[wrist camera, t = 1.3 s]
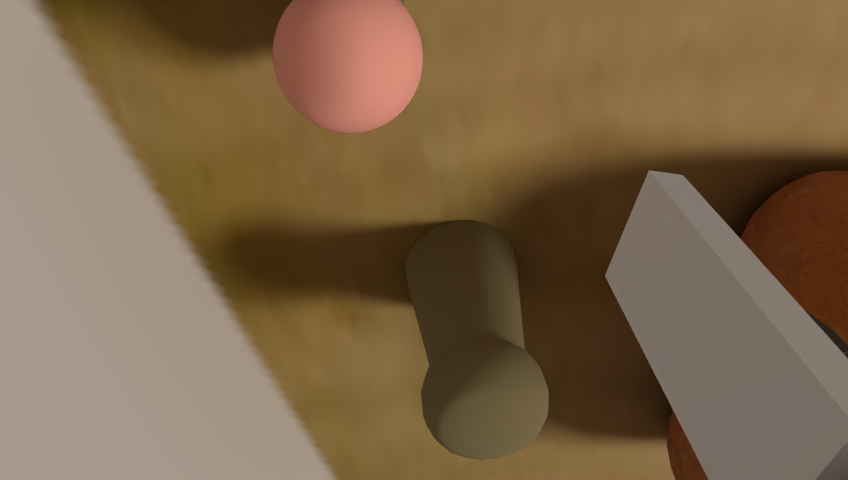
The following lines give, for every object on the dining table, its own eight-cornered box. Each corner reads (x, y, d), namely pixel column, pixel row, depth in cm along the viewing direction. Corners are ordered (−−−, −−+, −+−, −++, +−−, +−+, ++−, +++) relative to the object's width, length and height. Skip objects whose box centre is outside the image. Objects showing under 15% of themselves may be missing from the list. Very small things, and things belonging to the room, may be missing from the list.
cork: (381, 275, 32) (380, 443, 23) (457, 198, 30) (490, 351, 21) (463, 328, 35) (491, 500, 26) (539, 261, 33) (600, 423, 23)
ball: (408, 111, 24) (412, 166, 20) (280, 93, 23) (258, 145, 19) (429, -21, 22) (440, 10, 17) (287, -47, 21) (262, -20, 17)
